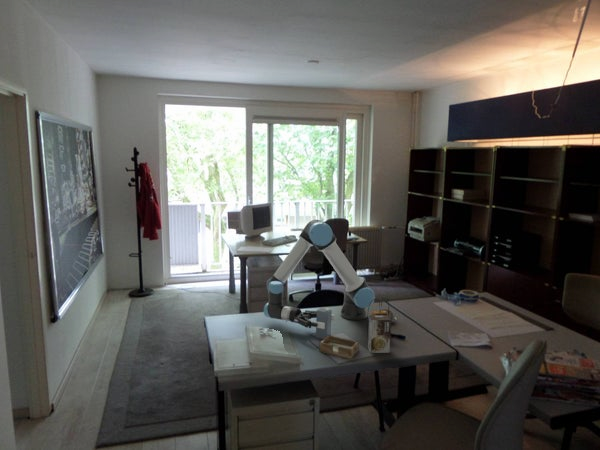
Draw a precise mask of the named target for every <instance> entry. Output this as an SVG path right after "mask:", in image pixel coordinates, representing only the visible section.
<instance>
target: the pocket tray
mask: <svg viewBox="0 0 600 450" xmlns="http://www.w3.org/2000/svg"><path fill="white" fill-rule="evenodd" d="M319 343H320V344H319V350H318V352H319V353H324V354H329V355H333V356H337V357H341V358H346V359H353V357H354V356H355V355H356V354H357V353H358V352H359V342H358V341H357V340H353V339H347V338H343V337H339V336H334V335H332V336H327V337H326V338H325V339H322V340H321V341H320V342H319Z"/></svg>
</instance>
